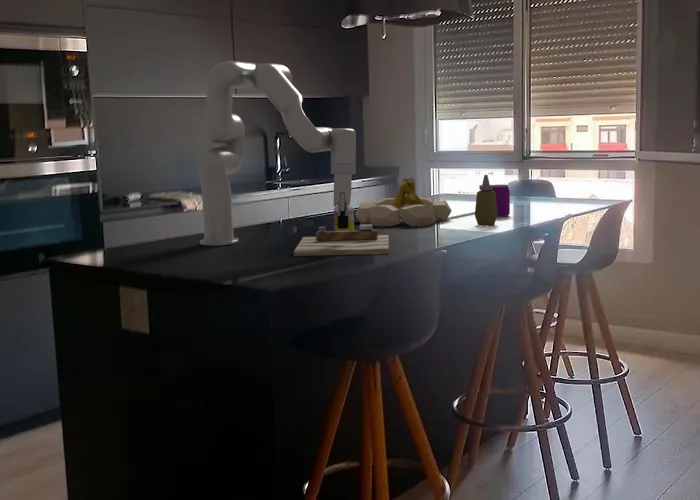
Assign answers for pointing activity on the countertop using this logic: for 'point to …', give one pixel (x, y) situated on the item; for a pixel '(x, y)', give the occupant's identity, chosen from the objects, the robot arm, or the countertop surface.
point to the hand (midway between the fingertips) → (343, 228)
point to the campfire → (404, 209)
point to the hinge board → (343, 245)
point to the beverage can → (502, 200)
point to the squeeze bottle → (486, 204)
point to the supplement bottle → (350, 219)
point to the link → (346, 235)
